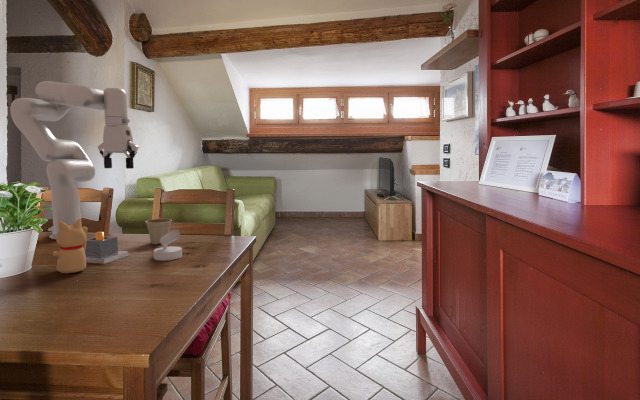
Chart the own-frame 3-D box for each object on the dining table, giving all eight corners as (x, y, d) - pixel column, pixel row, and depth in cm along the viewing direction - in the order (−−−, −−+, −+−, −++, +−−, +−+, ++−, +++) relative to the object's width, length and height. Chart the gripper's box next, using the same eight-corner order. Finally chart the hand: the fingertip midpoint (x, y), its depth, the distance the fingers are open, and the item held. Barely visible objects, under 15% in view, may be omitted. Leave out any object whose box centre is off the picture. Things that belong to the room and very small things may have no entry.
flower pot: (166, 245, 140) (165, 222, 139) (141, 245, 140) (140, 222, 140) (176, 240, 150) (176, 218, 149) (153, 240, 150) (152, 218, 149)
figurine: (82, 264, 115) (79, 215, 113) (97, 270, 109) (94, 218, 107) (49, 271, 108) (45, 218, 106) (63, 277, 102) (60, 222, 101)
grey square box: (100, 250, 126) (99, 235, 125) (118, 251, 124) (117, 236, 124) (82, 255, 119) (81, 240, 118) (101, 257, 117) (100, 241, 117)
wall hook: (163, 232, 116) (147, 228, 122) (164, 262, 117) (148, 257, 123) (188, 228, 123) (172, 225, 129) (189, 257, 124) (173, 252, 130)
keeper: (72, 261, 118) (70, 234, 117) (98, 253, 128) (96, 228, 127) (104, 263, 115) (102, 236, 114) (128, 255, 125) (127, 230, 124)
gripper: (143, 123, 144) (145, 168, 145) (105, 123, 148) (107, 168, 149) (129, 121, 136) (131, 168, 138) (89, 122, 140) (92, 168, 142)
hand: (118, 168), depth 144 cm, fingers open, 9 cm apart
